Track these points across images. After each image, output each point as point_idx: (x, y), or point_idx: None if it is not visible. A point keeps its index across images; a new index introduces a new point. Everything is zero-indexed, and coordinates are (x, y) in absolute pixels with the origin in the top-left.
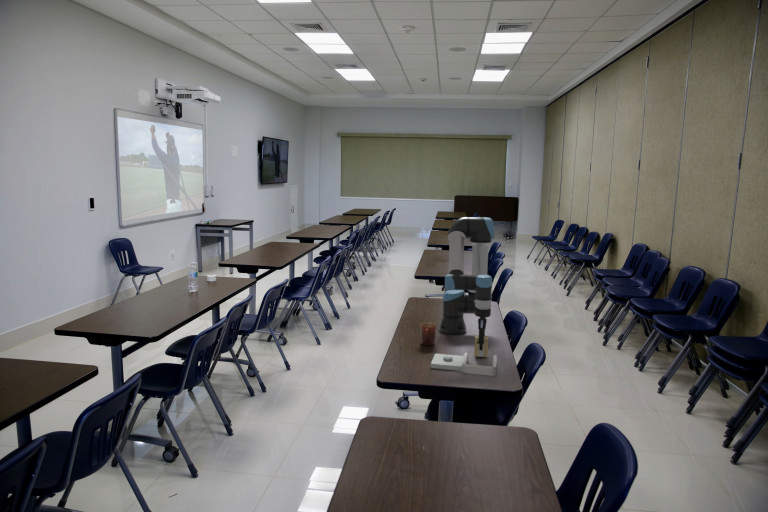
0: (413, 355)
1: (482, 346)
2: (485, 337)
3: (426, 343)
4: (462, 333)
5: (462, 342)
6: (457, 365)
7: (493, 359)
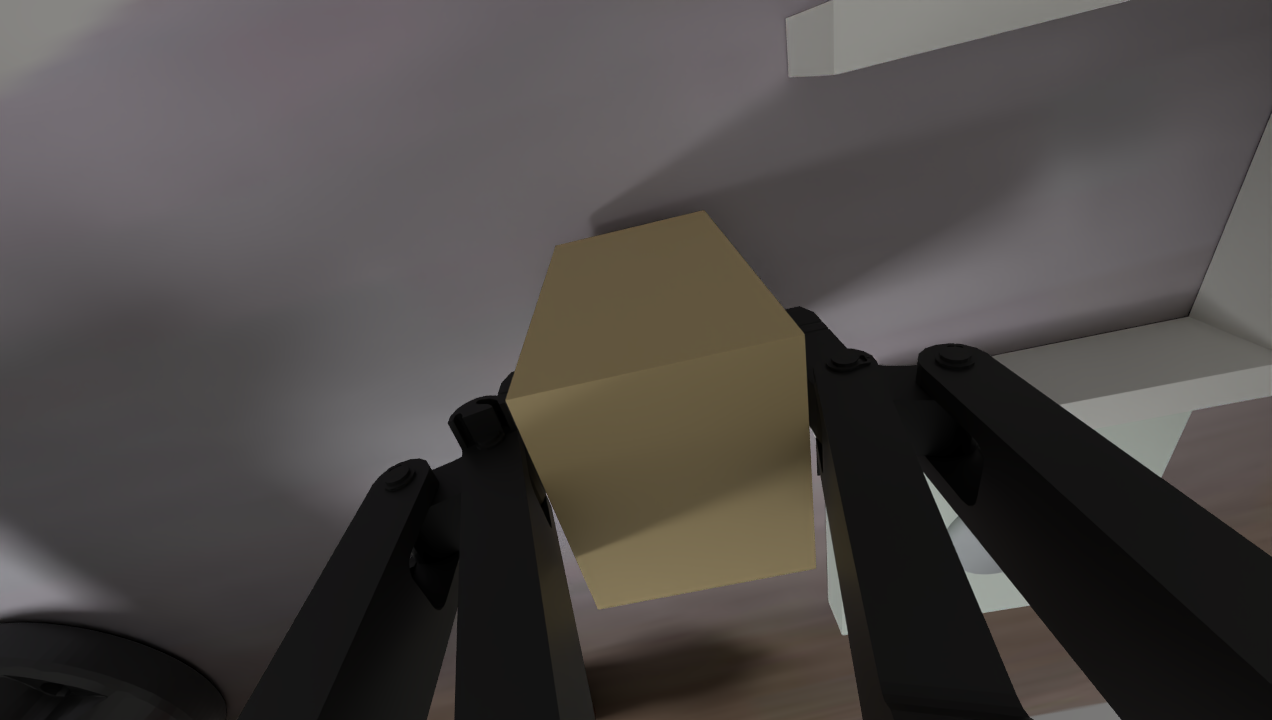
0: (827, 689)
1: (838, 340)
2: (682, 422)
3: (595, 717)
4: (80, 628)
5: (316, 563)
6: (1168, 421)
7: (1098, 4)
